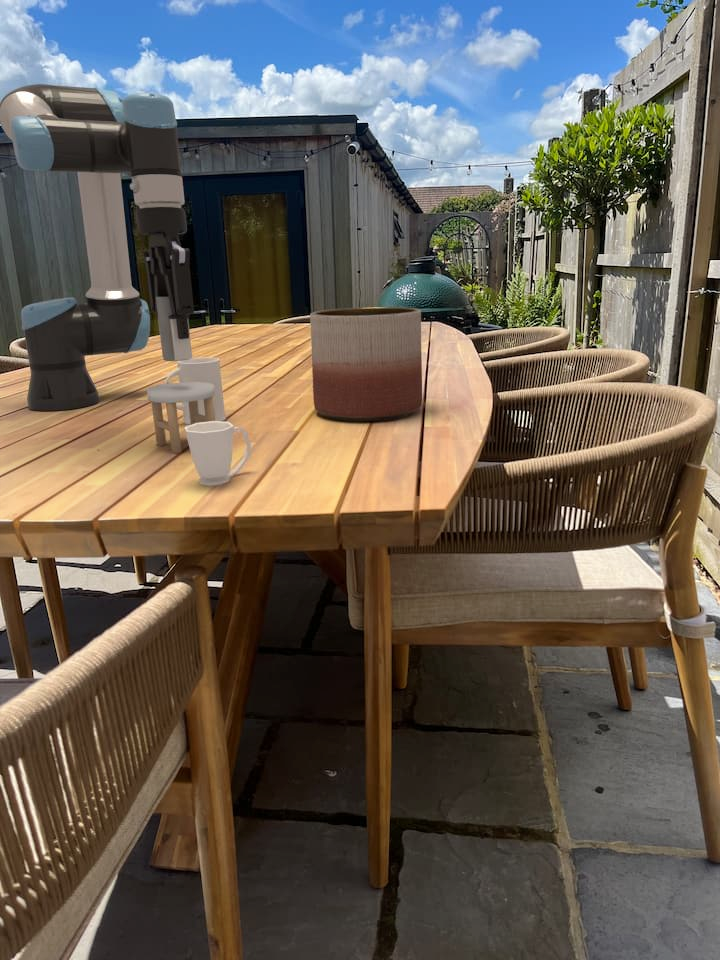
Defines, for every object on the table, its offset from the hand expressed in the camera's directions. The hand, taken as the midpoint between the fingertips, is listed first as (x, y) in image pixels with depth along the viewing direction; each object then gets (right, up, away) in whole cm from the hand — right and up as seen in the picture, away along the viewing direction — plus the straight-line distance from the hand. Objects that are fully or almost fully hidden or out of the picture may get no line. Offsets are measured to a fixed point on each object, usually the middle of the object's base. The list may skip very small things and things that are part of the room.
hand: (177, 357), depth 113 cm
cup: (+11, -20, -14) cm, 27 cm away
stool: (0, -14, +5) cm, 15 cm away
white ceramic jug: (-2, -9, +22) cm, 24 cm away
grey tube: (0, 0, 0) cm, 0 cm away
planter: (+32, -7, +26) cm, 42 cm away
